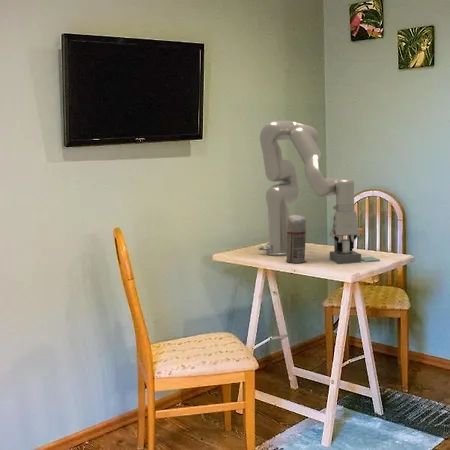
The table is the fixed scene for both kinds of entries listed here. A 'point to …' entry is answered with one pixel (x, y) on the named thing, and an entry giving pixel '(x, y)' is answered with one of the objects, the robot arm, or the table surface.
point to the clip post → (335, 245)
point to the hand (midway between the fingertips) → (345, 250)
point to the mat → (369, 259)
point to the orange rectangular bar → (359, 230)
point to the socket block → (345, 257)
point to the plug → (345, 246)
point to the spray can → (296, 239)
